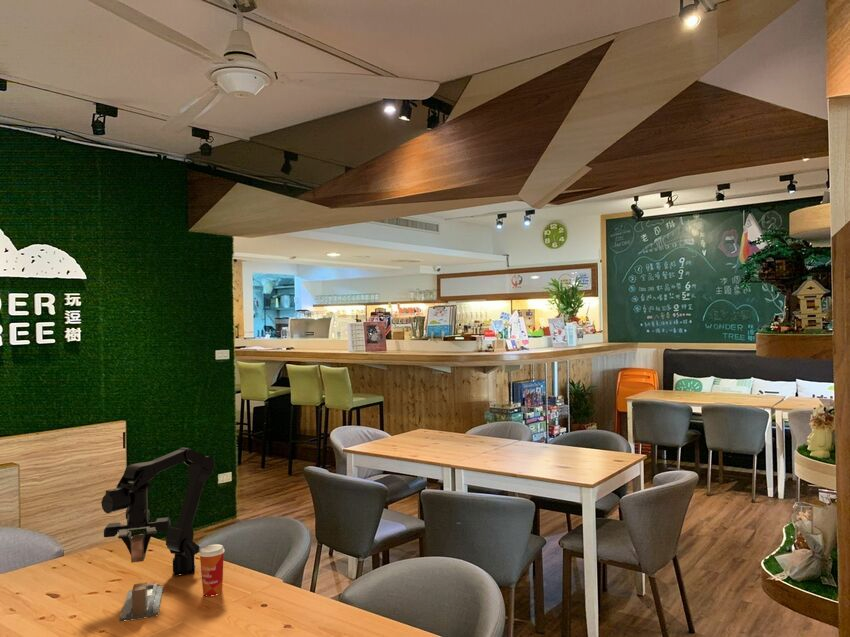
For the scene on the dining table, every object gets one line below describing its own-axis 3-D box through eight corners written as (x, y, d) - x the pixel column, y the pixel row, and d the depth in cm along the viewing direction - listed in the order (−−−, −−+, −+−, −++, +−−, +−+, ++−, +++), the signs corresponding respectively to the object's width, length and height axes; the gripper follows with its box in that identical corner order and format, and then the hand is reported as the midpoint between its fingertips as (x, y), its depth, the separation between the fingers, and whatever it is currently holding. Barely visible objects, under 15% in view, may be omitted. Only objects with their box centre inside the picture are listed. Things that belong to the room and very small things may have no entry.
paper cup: (194, 595, 190) (193, 550, 190) (213, 586, 197) (212, 542, 197) (212, 600, 186) (211, 554, 186) (231, 590, 193) (230, 545, 193)
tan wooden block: (145, 555, 198) (145, 533, 198) (143, 561, 192) (142, 539, 192) (133, 557, 197) (133, 535, 197) (130, 563, 191) (130, 540, 191)
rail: (163, 588, 196) (162, 563, 196) (158, 615, 177) (157, 587, 177) (128, 593, 193) (128, 568, 193) (119, 622, 174) (119, 593, 174)
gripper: (171, 495, 205) (172, 542, 205) (110, 501, 200) (111, 549, 200) (168, 504, 195) (169, 553, 194) (103, 510, 189) (103, 561, 189)
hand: (138, 554), depth 195 cm, fingers closed on tan wooden block, 3 cm apart
